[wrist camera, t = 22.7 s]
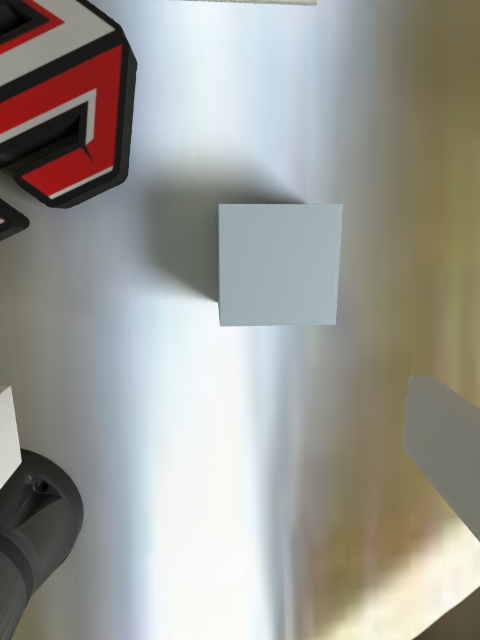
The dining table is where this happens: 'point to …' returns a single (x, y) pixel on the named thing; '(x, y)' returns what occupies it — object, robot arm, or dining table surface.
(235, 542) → the dining table surface
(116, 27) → the emblem
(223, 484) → the dining table surface
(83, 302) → the dining table surface
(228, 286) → the open box
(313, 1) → the tray
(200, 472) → the dining table surface
